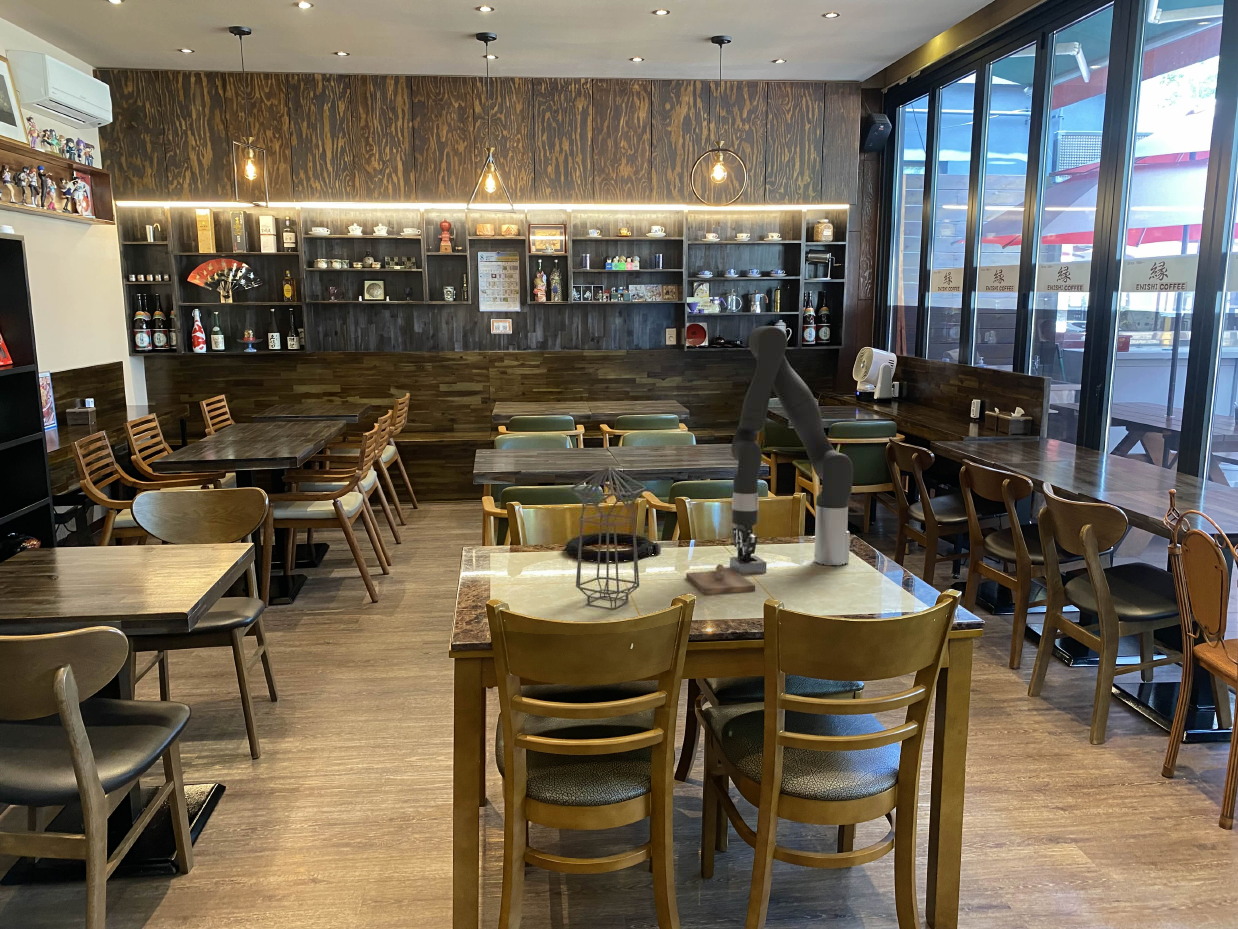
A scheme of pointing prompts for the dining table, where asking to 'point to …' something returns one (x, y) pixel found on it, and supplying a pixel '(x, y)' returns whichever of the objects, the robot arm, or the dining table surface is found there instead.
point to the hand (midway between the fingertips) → (743, 564)
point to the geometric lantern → (592, 495)
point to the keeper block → (720, 581)
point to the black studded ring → (588, 554)
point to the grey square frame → (748, 565)
